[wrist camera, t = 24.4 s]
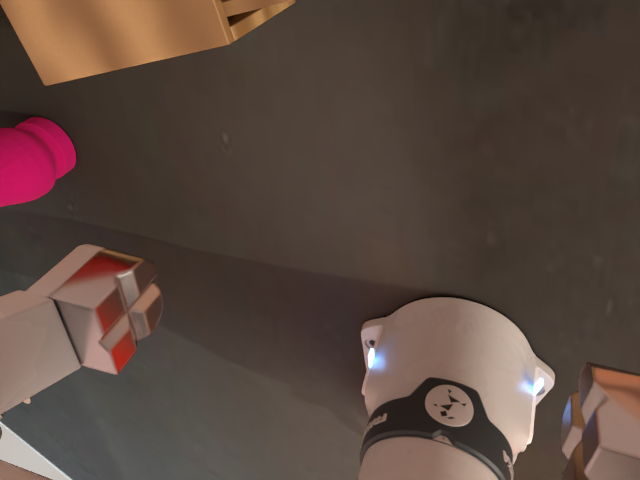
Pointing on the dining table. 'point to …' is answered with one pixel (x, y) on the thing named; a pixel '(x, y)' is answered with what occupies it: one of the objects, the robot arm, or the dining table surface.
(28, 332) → the robot arm
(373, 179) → the dining table surface
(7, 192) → the pepper mill
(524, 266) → the dining table surface
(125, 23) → the cabinet
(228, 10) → the drawer
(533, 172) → the dining table surface
